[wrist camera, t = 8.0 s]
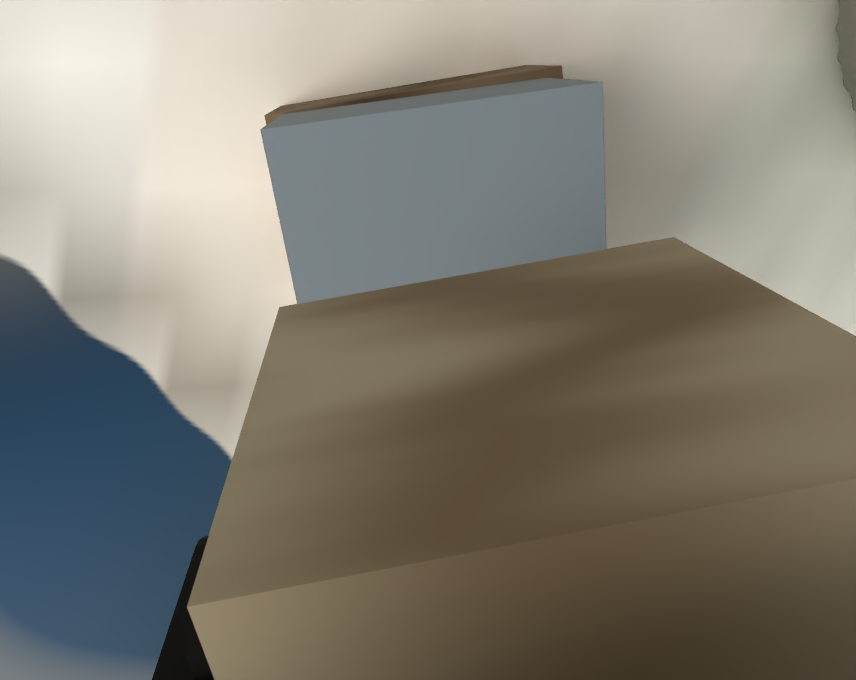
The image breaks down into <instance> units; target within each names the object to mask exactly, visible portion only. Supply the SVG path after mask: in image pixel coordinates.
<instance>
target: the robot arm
mask: <svg viewBox="0 0 856 680" xmlns="http://www.w3.org/2000/svg"><path fill="white" fill-rule="evenodd" d="M208 537H209V536H205V537H202V538H201V539H200V540H199V541H198V543H197V545H196V547H195V551H194V553H193V556H192V559H191V562H190V566H189V568H188V571H187V574H186V578H185V581H184V584H183V587H182V590H181V593H180V596H179V599H178V602H177V605H176V608H175V611H174V614H173V617H172V620H171V623H170V626H169V629H168V632H167V635H166V639H165V642H164V644H163V647H162V650H161V653H160V657H159V660H158V663H157V666H156V669H155V672H154V675H153V678H152V680H214V677H213V674H212V672H211V669H210V666H209V664H208V661H207V659H206V656H205V653H204V651H203V648H202V645H201V643H200V640H199V638H198V635H197V632H196V630H195V627H194V624H193V622H192V619H191V616H190V614H189V611H188V609H187V605H188V602H189V598H190V595H191V592H192V589H193V585H194V582H195V579H196V576H197V573H198V569H199V566H200V563H201V560H202V556H203V553H204V550H205V547H206V543H207V540H208Z"/></svg>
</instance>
